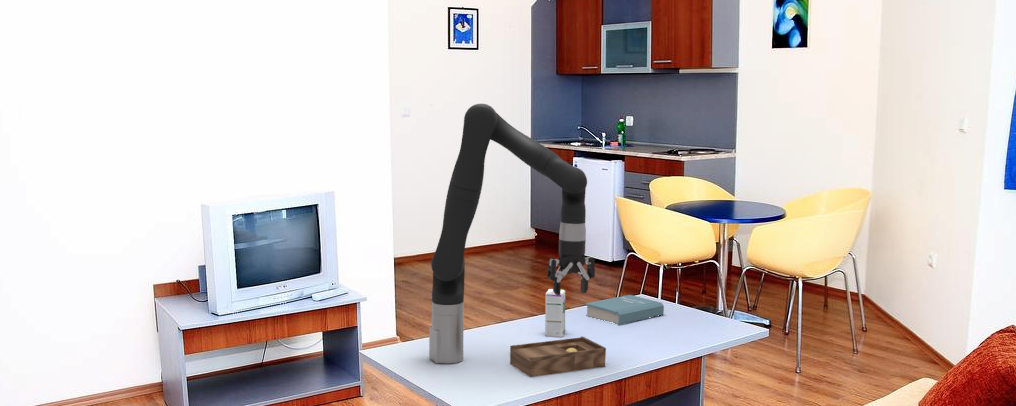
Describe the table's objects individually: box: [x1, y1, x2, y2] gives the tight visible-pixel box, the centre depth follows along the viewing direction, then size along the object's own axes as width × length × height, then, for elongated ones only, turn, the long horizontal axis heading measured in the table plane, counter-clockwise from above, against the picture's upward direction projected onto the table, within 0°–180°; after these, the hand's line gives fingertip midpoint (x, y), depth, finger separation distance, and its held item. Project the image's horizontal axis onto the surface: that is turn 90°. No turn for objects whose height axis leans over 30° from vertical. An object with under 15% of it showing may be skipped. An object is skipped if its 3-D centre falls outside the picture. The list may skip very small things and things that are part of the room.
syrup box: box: [544, 288, 566, 338], centre depth 288 cm, size 6×6×14 cm
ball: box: [566, 348, 577, 352], centre depth 258 cm, size 5×5×5 cm
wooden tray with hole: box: [509, 335, 607, 378], centre depth 256 cm, size 24×13×6 cm, turn 115°
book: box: [585, 294, 665, 326], centre depth 315 cm, size 23×16×5 cm
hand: (570, 293), depth 257 cm, fingers open, 8 cm apart
